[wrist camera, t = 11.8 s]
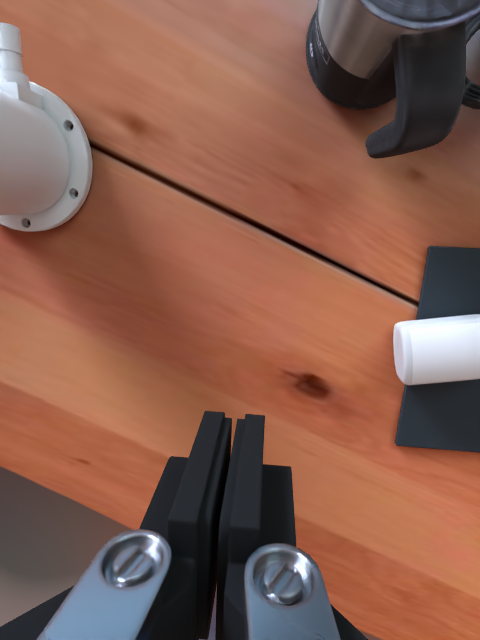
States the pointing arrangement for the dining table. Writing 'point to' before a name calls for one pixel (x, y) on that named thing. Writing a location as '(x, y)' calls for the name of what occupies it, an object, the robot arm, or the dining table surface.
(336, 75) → the milk frother
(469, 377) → the eye dropper bottle
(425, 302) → the mat
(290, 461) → the dining table surface
